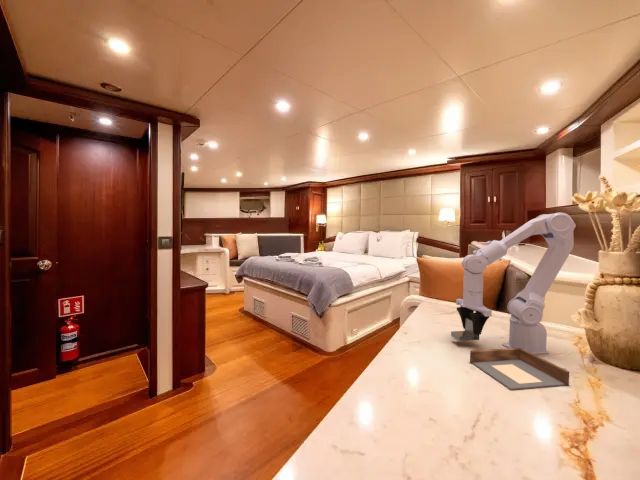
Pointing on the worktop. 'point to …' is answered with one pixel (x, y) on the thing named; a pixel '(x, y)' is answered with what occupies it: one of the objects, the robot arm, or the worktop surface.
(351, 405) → the worktop surface
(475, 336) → the angle bracket
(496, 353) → the corner walls
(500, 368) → the corner mat
